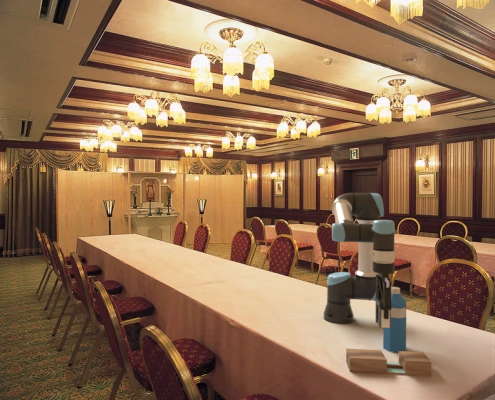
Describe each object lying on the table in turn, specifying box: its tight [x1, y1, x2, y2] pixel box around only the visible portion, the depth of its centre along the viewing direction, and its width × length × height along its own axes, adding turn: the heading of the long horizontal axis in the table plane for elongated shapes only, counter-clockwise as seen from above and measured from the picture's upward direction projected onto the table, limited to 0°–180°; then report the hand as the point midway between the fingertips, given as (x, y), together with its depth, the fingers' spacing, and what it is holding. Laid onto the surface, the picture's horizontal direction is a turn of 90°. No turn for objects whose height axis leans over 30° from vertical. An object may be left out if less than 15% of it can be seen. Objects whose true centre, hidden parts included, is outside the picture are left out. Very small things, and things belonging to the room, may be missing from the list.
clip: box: [375, 298, 391, 328], centre depth 134 cm, size 6×4×9 cm, turn 172°
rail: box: [345, 348, 433, 377], centre depth 132 cm, size 8×28×5 cm, turn 84°
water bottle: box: [382, 286, 407, 354], centre depth 150 cm, size 9×9×25 cm
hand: (383, 323), depth 134 cm, fingers closed on clip, 6 cm apart
